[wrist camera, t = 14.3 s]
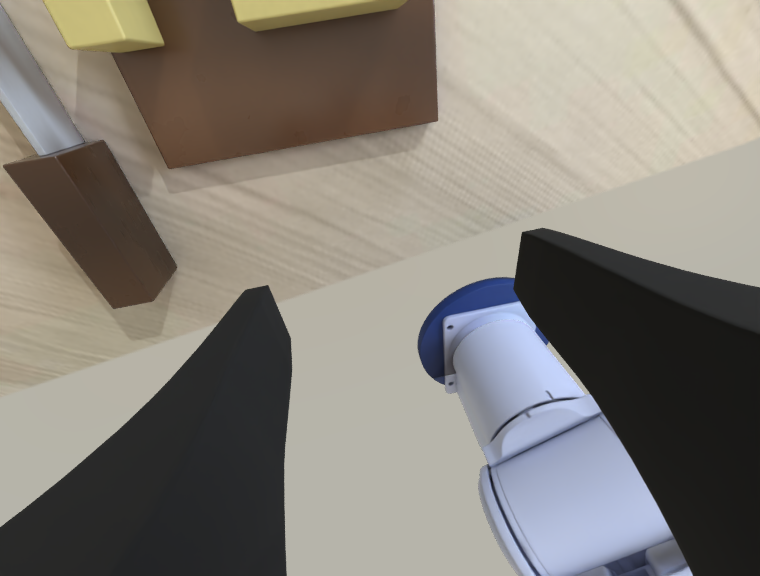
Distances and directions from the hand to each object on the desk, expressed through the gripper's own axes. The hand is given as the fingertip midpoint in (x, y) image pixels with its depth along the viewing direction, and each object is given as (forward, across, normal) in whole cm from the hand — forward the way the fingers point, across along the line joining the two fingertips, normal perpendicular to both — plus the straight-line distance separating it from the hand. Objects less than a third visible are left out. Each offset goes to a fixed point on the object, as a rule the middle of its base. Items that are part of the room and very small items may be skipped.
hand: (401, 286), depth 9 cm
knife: (+11, +12, -4) cm, 17 cm away
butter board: (+11, +2, -7) cm, 13 cm away
